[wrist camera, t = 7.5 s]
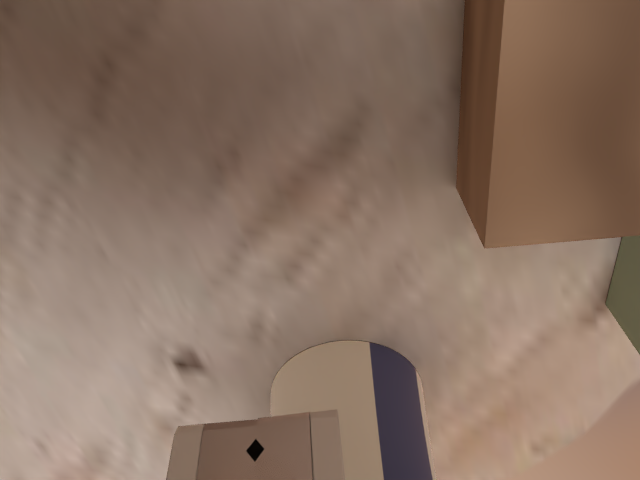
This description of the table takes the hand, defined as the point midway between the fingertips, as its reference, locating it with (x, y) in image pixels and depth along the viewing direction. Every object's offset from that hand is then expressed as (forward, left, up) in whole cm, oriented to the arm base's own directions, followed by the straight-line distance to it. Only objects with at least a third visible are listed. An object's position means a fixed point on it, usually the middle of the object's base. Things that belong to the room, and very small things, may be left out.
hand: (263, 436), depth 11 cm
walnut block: (+9, +4, -13) cm, 17 cm away
